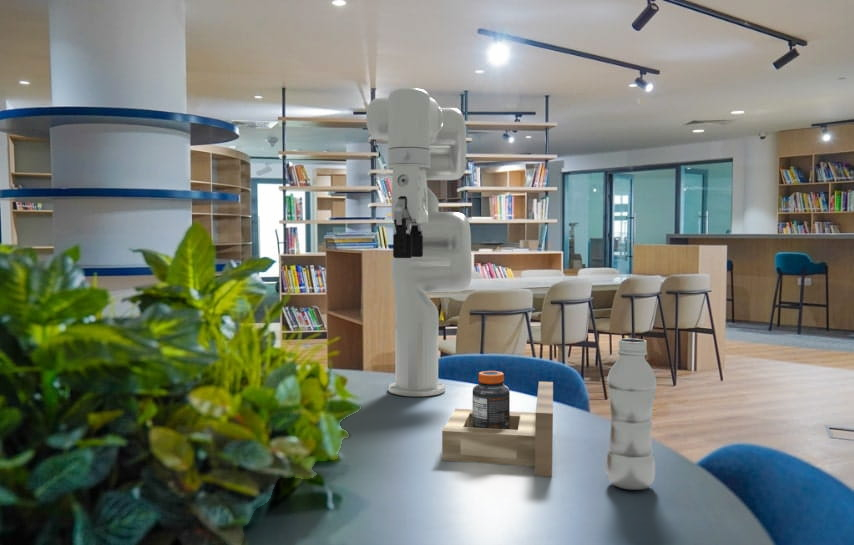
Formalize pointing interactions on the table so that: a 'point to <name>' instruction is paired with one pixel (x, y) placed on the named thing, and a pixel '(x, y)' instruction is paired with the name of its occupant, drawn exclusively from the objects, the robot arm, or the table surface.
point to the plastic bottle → (631, 417)
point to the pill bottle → (491, 402)
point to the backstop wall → (544, 429)
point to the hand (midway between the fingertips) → (408, 257)
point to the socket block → (490, 440)
